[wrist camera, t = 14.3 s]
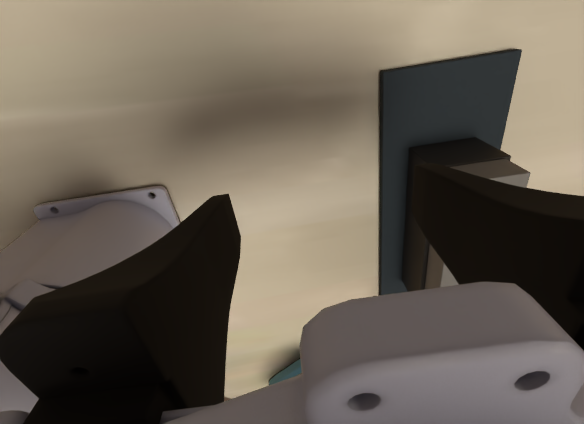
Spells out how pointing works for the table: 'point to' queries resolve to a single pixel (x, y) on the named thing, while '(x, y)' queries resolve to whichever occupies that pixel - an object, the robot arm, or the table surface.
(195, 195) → the table surface
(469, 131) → the desk mat
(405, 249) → the grey rectangular block
